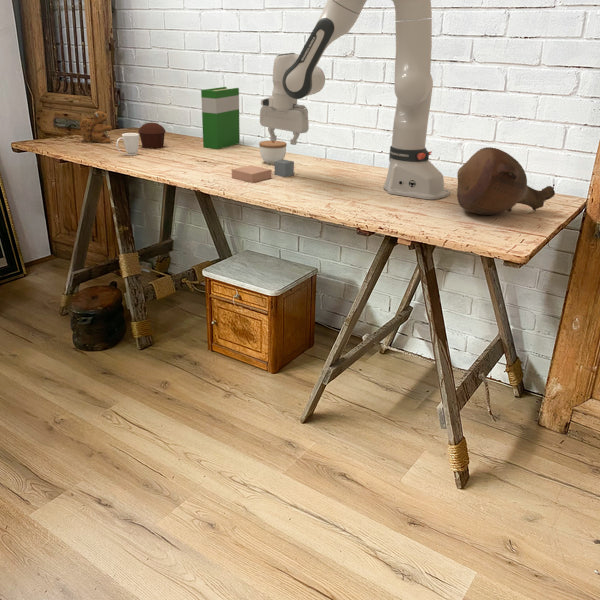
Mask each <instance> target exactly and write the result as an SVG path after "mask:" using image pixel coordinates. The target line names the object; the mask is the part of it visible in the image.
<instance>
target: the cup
mask: <svg viewBox="0 0 600 600" xmlns="http://www.w3.org/2000/svg"><path fill="white" fill-rule="evenodd" d="M120 140H122V142H123V147H124V148H125V151H126V153H124V152H123V151H121V150H120V149H119V141H120ZM139 140H140V134H139V132H138V133H135V132H126V133H122V134H121V137H119V138H118V139H117V140H116V145H115V146H116V150H117V151H118V153H121V154H122V155H125V156H136V155H138V151H139V143H140V142H139Z"/></svg>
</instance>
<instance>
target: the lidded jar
mask: <svg viewBox="0 0 600 600" xmlns="http://www.w3.org/2000/svg"><path fill="white" fill-rule="evenodd" d="M258 145H259V154H260V157H261V159H262V161H264V163H265V164H268V165H275V161H279V160H283V159H284V160H285V157H286V154H287V153H286V152H287V142H286V141H282V140H276V141H272V140H263V141H260V142H259V144H258Z"/></svg>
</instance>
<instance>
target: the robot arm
mask: <svg viewBox="0 0 600 600" xmlns="http://www.w3.org/2000/svg"><path fill="white" fill-rule="evenodd" d="M367 1H368V0H327V1H326V3H325V4H324V7H323V9H322V12H321V14H320V16H319V18H318V20H317V22H316V23H315V26H314V28H313V29H312V31H311V33H310V34H309V37H308V38H307V40H306V42H305V44H304V45H303V47H302V50H301V51H300V53H299V55H298V54H297V53H295V52H289V53H287V52H286V53H281V54H277V55H276V56H275V58H274V62H273V67H272V68H273V69H272V83H273V87H272V91H271V92H272V93H271V94H272V96H268V97H266V98H263V99H260V100H261V101H260V105H261V107H260V110H259V111H260V112H259V123H260V126H261V127H264V128H268V129H267V131H268V133H269V137H270V140H272V141H278V140H277V135H276V134H275V129H276V130H282V131H287V132H292V136H293V137H292V138H290V145H293V146H296V145H297V144H298V143H297V142H298V139H299V137H300V135H301V134H305V133H308V132H309V127H310V125H309V110H308V108H307V107H306V105H304V104H298V100H300V99H303V98H306V97H308V96H312V95H315V94H317V93H319V92H321V91H322V90H323V88H324V87H325V84H326V76H325V72H324V71H323V70H322V68H320V67H319V66H317V65H318V63H319V61H320V59H321V58H322V56H323V55H324V53H325V51H326V50H327V48H328V47H329V46H330V45H331V44H332V43H334V42H335V41H336V40H338V39H339V38H340V37H342V36H345V35H346V34H348V33H349V32H350V31H351V29H352V28H353V26H354V25H355V23H356V22H357V20H358V18H359V17H360V14H361V12H362V10H363V8H364V7H365V5H366V3H367ZM391 1H392V3H393V6H394V10H395V11H394V13H395V17H394V19H395V56H394V57H395V58H394V59H395V60H394V84H393V85H394V95H395V97H396V98H397V100H396V106H395V113H394V118H393V126H392V127H393V128H392V136H391V138H392V139H391V146H390V147H389V157H388V159H389V165H388V171H387V174H386V178H385V182H384V184H383V187H382V188H383V189H384V190H385V191H387V194H389V195H397V196H404V197H410V198H418V199H422V200H438V199H443V198H446V197H447V196H450V194H451V190H450V189H449V188H445V178H444V175H443V173H442V172H441V171H440V170H439V169H438V168H437V167H436V166H435V165H434V164H433V163H432V162H431V161H430V160H429V159H430V156H432V153H433V151H428V150H427V147H426V143H427V132H428V123H429V115H430V109H431V104H432V103H431V102H432V95H433V87H434V86H433V85H434V80H433V76H432V74H431V69H432V68H431V64H432V47H433V46H432V43H433V42H432V40H433V38H432V37H433V35H432V34H433V33H432V31H433V30H432V26H433V25H432V22H433V21H432V20H433V18H432V2H431V1H432V0H391ZM270 140H269V141H270Z"/></svg>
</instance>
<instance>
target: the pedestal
mask: <svg viewBox="0 0 600 600" xmlns="http://www.w3.org/2000/svg"><path fill="white" fill-rule="evenodd" d="M231 178H232V179H235V180H239V181H243V182H248V183H251V184H252V183H257V182H260V181H265V180H269V179H272V169H269V168H265V167H260V166H256V165H246V166H242V167H237V168H233V169H231Z"/></svg>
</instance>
